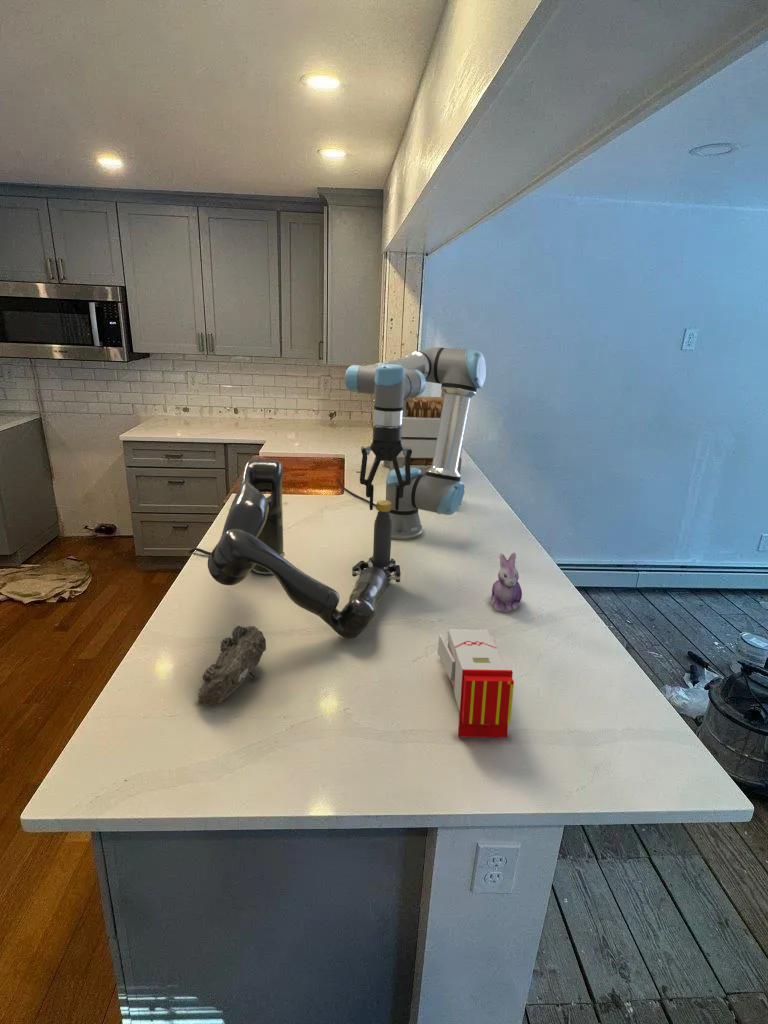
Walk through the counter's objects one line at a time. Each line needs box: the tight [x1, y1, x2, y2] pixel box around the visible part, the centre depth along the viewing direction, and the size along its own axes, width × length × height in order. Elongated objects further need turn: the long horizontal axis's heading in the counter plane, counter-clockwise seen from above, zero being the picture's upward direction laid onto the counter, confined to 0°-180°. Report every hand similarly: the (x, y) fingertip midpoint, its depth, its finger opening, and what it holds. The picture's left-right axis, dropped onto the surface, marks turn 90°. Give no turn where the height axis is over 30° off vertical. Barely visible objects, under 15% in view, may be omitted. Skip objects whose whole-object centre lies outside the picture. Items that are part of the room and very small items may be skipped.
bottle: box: [372, 511, 392, 587], centre depth 160 cm, size 5×5×24 cm
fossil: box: [197, 625, 267, 705], centre depth 118 cm, size 22×10×15 cm
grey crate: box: [383, 390, 464, 475], centre depth 268 cm, size 34×33×41 cm
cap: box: [375, 499, 392, 512], centre depth 156 cm, size 4×4×2 cm
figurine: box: [490, 551, 523, 613], centre depth 152 cm, size 9×10×15 cm
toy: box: [437, 628, 515, 738], centre depth 117 cm, size 12×13×30 cm
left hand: (383, 560), depth 164 cm, fingers closed on bottle, 5 cm apart
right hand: (383, 508), depth 156 cm, fingers open, 6 cm apart
